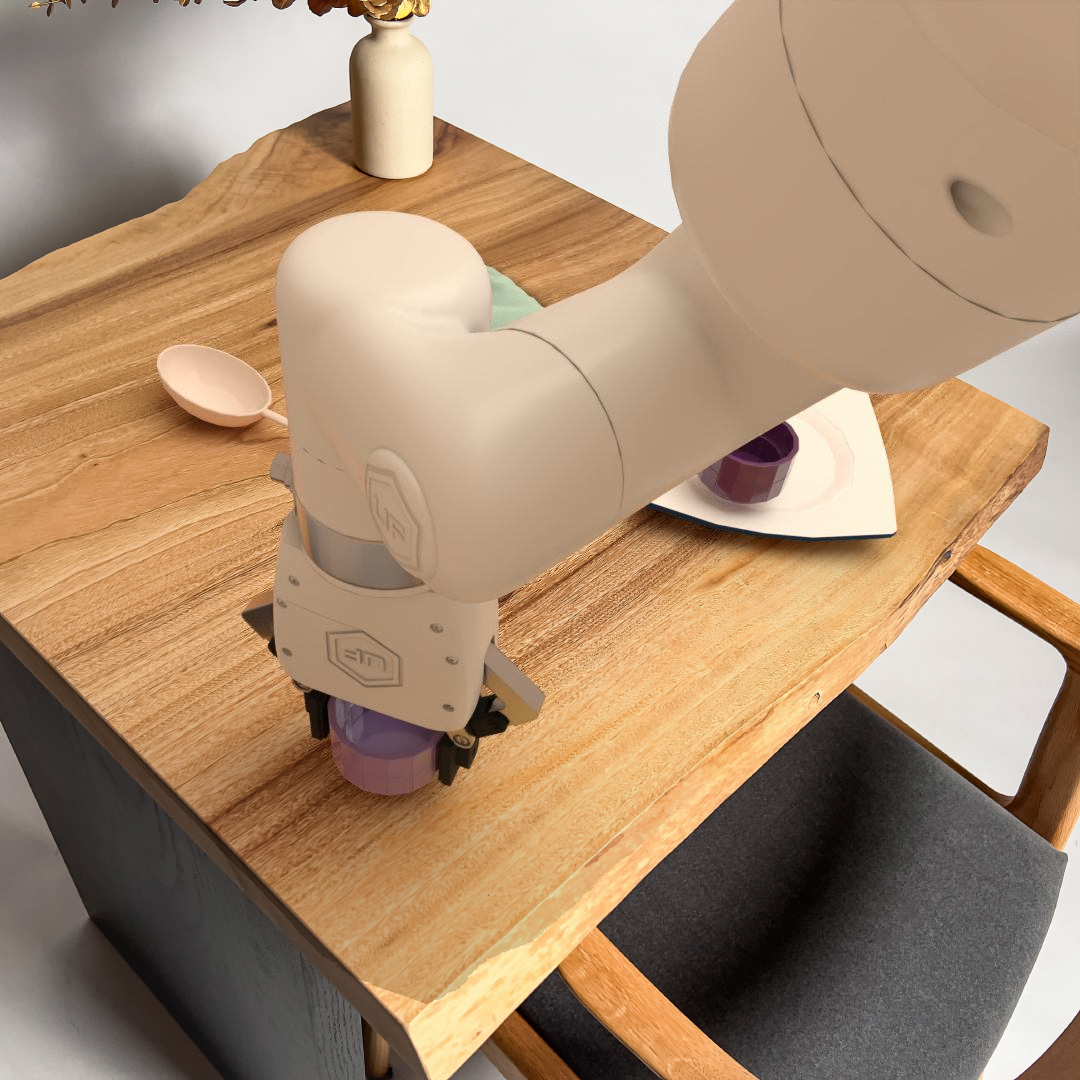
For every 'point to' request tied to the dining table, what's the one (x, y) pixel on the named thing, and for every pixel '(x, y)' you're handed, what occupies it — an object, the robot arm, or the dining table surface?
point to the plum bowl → (755, 467)
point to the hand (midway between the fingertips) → (392, 739)
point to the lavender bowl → (381, 749)
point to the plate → (811, 482)
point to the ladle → (215, 386)
